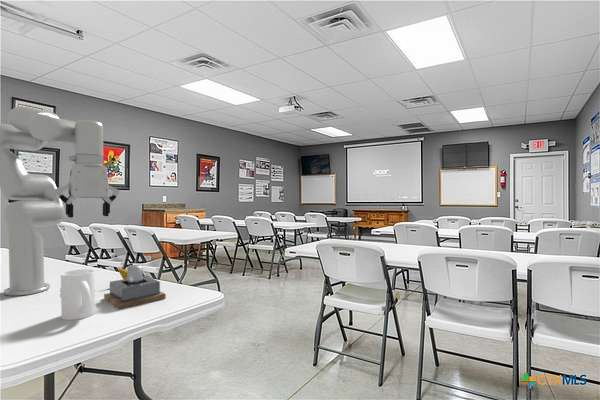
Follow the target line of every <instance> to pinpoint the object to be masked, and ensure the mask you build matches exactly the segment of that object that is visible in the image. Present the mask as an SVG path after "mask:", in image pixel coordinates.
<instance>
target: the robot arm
mask: <svg viewBox="0 0 600 400" xmlns="http://www.w3.org/2000/svg"><path fill="white" fill-rule="evenodd" d="M7 117H8V118H7V119H8V122H9V123H10V124H7V123H0V190H1V194H2V195H3V197H5V199H8V200H11V202H10V203H8V204H7V205H6V206H5V207H4V210H3V217H4V221H5V225H6V229H7V239H8V273H9V278H8V279H9V287H8V288H5V289H4V290H3V295H5V296H9V297H10V296H11V297H13V296H14V297H16V296H17V297H18V296H26V295H32V294H36V293H37V294H38V293H41V292H44V291H46V290H49V289H50V287H51V286H50V285H51V284H50V283H48V282H45V260H44V259H45V252H44V238H43V236H42V234H41V232H39V231H38V230H37V229H36V228H38V227H39V228H40V227H50V226H51V227H52V226H57V225H60V224H62V222H63V221H64V219H65V217H66V215H67V218H69V219H70V218H71V219H73V218H74V204H73V202H74V201H75V200H76V199H77V198H78V199H101V200H102V201H103V203H102V216H104V217H109V214H111V204H112V202H113V201H115V199H116V198H117V197H118V195H119V193H120V190H119V189H117V188H116V187H114V186H112V185H109V176H108V175H109V173H108V170H107V166H104V125H103V124H102V122H100V121H97V120H92V119H91V120H90V119H78V120H76V121H74V120H70V119H64V118H59V116H58V114H56V113H55V112H52V111H51V110H50V111H49V110H44V109H39V108H34V107H30V106H16V107H14V108H12V109H10V111H9V112H8V115H7ZM48 143H52V144H60V145H61V144H63V145H68V146H69V145H70V146H74V154H73V155H72V156H71V155H69V156H68V161H70V162H71V161H72V162H73V164H72V165H71V167H70V172H69V180H68V183H67V184H64V185H62V186H59V187H57V185H56V183H55V181H54V180H53V179H52V178H51V177H50V176H49V175H46V174H40V173H38V174H37V173H29V172H28V171H27V170H26V166H25V164H24V162H23V160H22V159H21V158H20V157H19V156H18V155H17V154H16V153H14V152H12V151H11V150H19V151H20V150H21V151H31V152H34V151H35V152H36V151H39V150H41V149H43V148H44V147H45V145H47V144H48ZM10 149H11V150H10ZM67 190H68V197H66V196H65V195H64V193H63V192H65V191H67ZM110 192H112V194H111V195H109V194H110ZM64 204H65V206H64Z"/></svg>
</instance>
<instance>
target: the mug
mask: <svg viewBox="0 0 600 400" xmlns="http://www.w3.org/2000/svg"><path fill="white" fill-rule="evenodd" d="M95 274H96V273H95V269H87V268H86V269H85V268H84V269H74V270H69V271H64V272H62V273H61V274H60V289H59V298H60V300H61V301H60V303H61V304H60V305H61V307H60V308H61V309H60V310H61V318H62V320H64V321H65V320H66V321H75V320H81V319H85V318H89V317H92V316H93V315H94V314H95V313H96V281H95V280H96V278H95V277H96V275H95Z"/></svg>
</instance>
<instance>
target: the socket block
mask: <svg viewBox="0 0 600 400" xmlns="http://www.w3.org/2000/svg"><path fill="white" fill-rule="evenodd" d="M160 283H161V282H160V281H159V280H157V279H154V278H152V277H150V276H147V275H143V283H139V284H133V285H128V279H123V278H122V279H118V280H112V281H111V280H110V281H109V293H110V294H111V295H112V296H114V297H115V298H117V299H118V300H120V301H122V302H124V301H129V300H134V299H138V298H143V297H148V296H152V295H157V294H160V291H161V290H160V289H161V284H160Z"/></svg>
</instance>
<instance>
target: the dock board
mask: <svg viewBox="0 0 600 400" xmlns="http://www.w3.org/2000/svg"><path fill="white" fill-rule="evenodd" d="M166 294H167V293H164V292H162V291H161V290H160V294H157V295H152V296H148V297H143V298H138V299H134V300H129V301H124V302H122V301H120V300H118V299H117V298H115V297H114V296H112V295H111V294H110V292H108V293H104V295H103V299H104V300H106V302H109V303H110V305H113V306H114V307H115V308H117V309H118V310H121V309H124V308H129V307H134V306H139V305H143V304H149V303H151V302H157V301H160V300H165V299H166Z"/></svg>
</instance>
